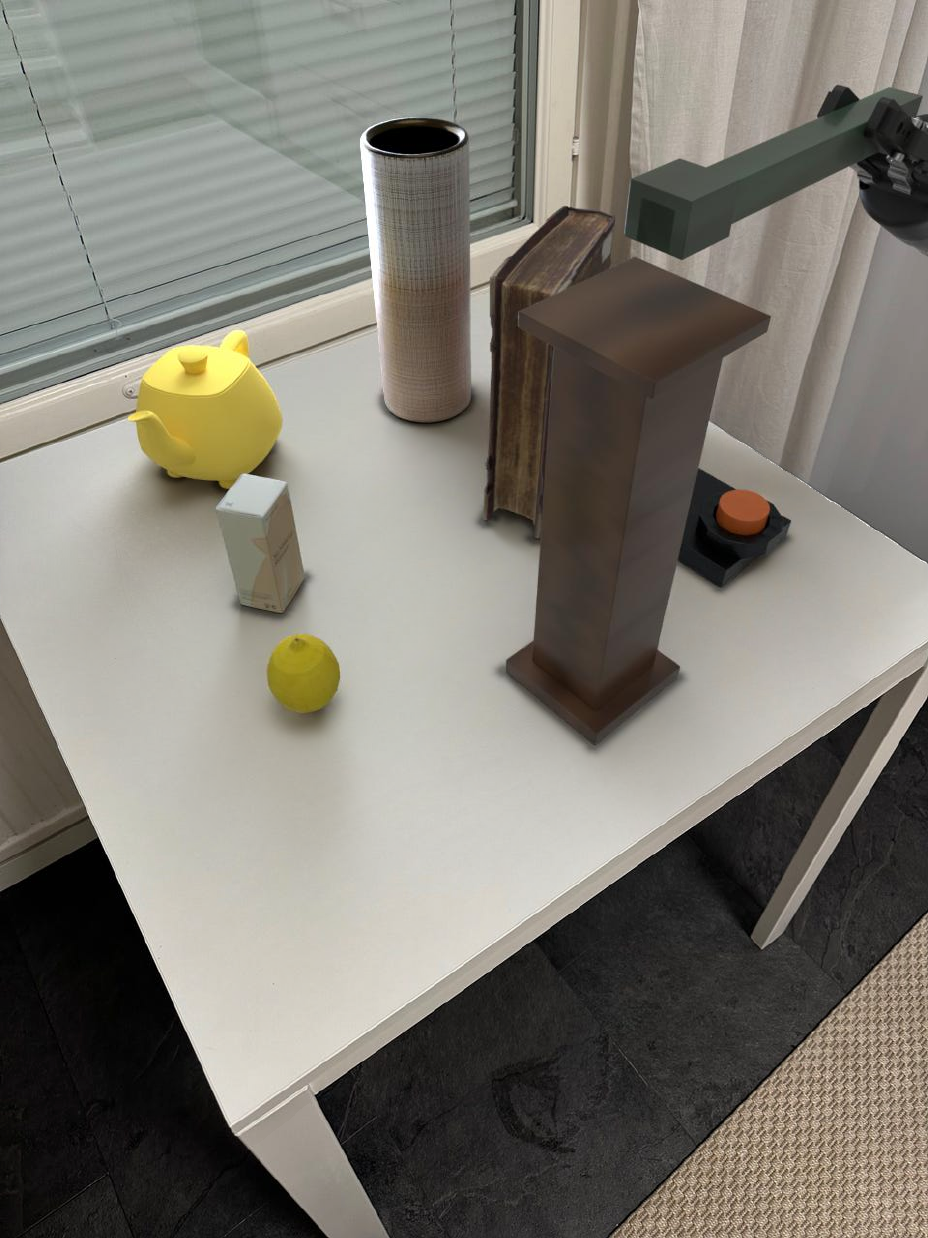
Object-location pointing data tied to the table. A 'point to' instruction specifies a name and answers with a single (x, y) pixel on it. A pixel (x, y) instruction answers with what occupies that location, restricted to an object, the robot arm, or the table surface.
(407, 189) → the vase
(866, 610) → the table surface
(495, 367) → the book
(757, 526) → the button
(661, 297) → the pedestal
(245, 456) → the teapot
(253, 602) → the box
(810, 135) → the rod
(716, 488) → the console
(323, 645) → the fruit
